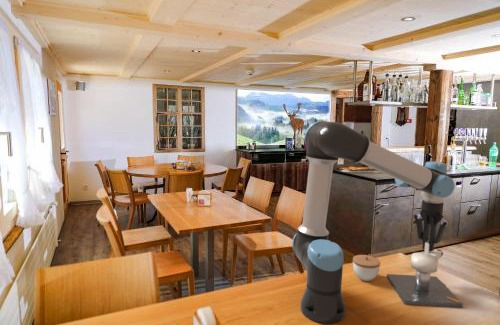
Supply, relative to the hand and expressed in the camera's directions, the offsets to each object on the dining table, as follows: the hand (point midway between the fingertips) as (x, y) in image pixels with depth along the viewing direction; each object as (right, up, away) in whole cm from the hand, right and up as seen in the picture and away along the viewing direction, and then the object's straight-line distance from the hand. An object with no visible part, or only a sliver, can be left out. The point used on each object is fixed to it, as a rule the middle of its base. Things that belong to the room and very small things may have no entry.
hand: (427, 257), depth 136 cm
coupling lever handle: (-1, -1, -4) cm, 4 cm away
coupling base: (-5, -11, -6) cm, 14 cm away
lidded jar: (-24, -10, +4) cm, 26 cm away
